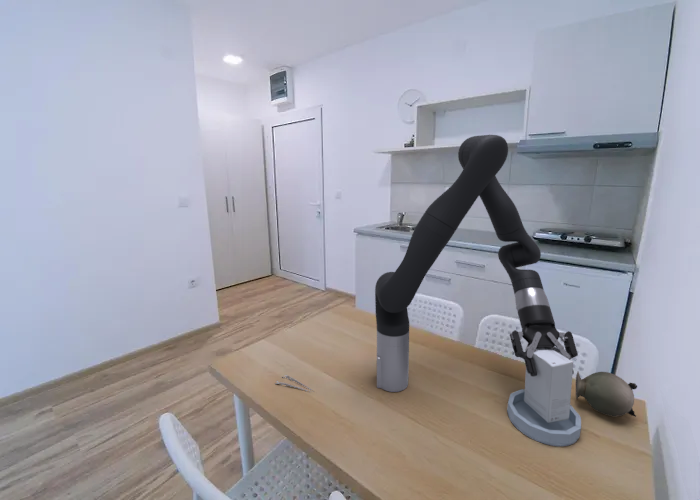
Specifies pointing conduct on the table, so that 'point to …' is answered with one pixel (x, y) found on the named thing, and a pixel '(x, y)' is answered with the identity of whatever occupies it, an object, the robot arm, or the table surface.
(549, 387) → the skincare box
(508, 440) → the table surface
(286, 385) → the tweezers
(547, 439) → the bowl
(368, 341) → the table surface
